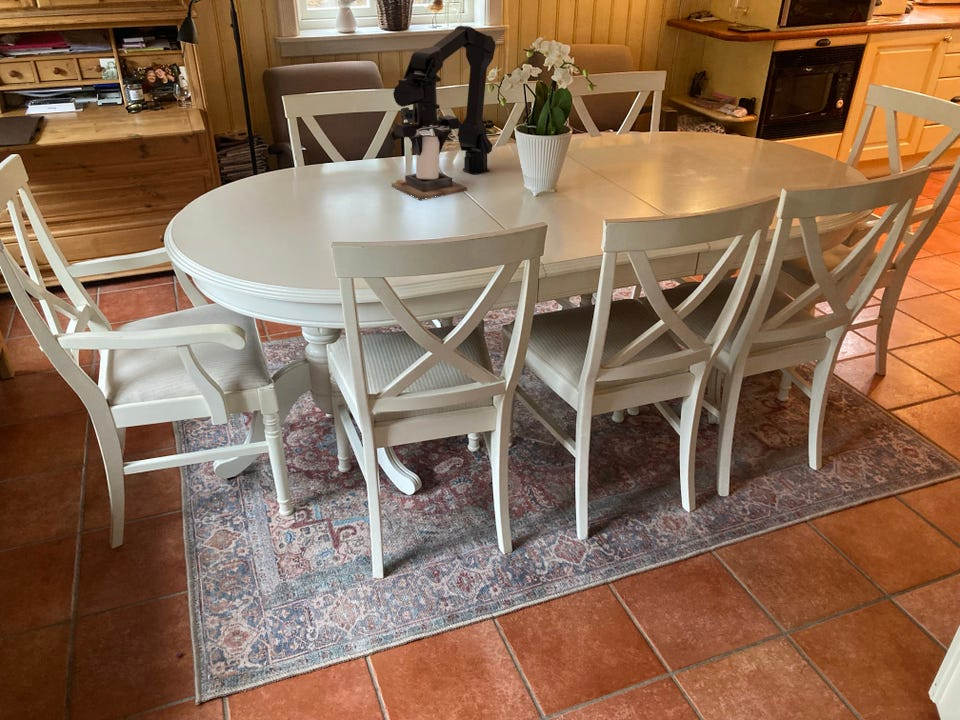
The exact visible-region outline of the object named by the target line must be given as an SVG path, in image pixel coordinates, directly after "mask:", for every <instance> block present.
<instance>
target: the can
mask: <svg viewBox="0 0 960 720" xmlns="http://www.w3.org/2000/svg"><path fill="white" fill-rule="evenodd" d="M420 135H421V136H423V138H422V153H421V155H420V156H419V155H417V154H416V159H415V160H416V170H415V171H416V173H415V174H416V177H417V179H423V180H437V179H438V177H439V172H440V171H439V170H440V154H439V140H438V136H435V135H429V134H427V135H424V134H420Z"/></svg>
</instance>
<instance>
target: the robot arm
mask: <svg viewBox="0 0 960 720" xmlns="http://www.w3.org/2000/svg"><path fill="white" fill-rule="evenodd" d="M461 48H464V49H465V57H466V59H467V62H468V65H469V77H468V78H469V79H468V80H469V81H468V89H467V91H468V92H467V103H466V115H465V118H464V120H463V121H462V122H461V121H460V120H459V118H458V117H456V116H453V115H450V114H449V115H442V116H439V117H438V109H439V110H440V104H438V100H437V83H439V82H441V81H442V78H441V77H440V76H438V73H439V72H440V71H441V69H442V68H443V66H444V62H445V61H446V60H447V59H449V58H450V57H451V56H452V55H454V54H456V53H457V51H459V50H460V49H461ZM495 50H496V41H495V40H494V38H493V36H492V35H489V34H488V35H487V34H485V33H482V32H480V31H479V30H478V31H477V30H476V29H475V28H474V27H472V26H467V25H459V26H456V27H455V29H454V30H452V31H451V32H449V34H447V35H446V36H445V37H443V38H442V39H440V40H439V41H438V42H437V43H434V45H433V46H430V47H429V46H428V47H425V48H421V49H418V50H416V51H414V52H413V53H412V55H411V57H410V60H409V62H408V66H407V68H406V71H405V73H404V76H403V78H400V79H398V80H397V81H398V84H397V85H396V86H395V87H394V90H393V93H392V94H393V99H394V101H395V103H396V105H398V107H402V108H400V117H401V120H402V121H405V122H399V123H395V125H394V130H393V131H394V133H393V134H394V135H397V136H399V137H401V138H408V139H409V140H410V142H411V144H412V145H413V148H414V150H415V153H416V156H417V155H419V156H420V155H421V153H422V138H423V136H421V135H422V134H420V131H427V130H432V131H433V133H434V136H438V140H439V155H440V154H441V152H442V149H443V147H444V144H445V142H446V140H447V138H448V136H449V135H450V134H451V133H452V132H453V130H458V131H457V135H456V136H457V139H458V143H459V147H460V150H461V152H462V151H463V152H464V153H465V156H464V160H463V161H464V163H463V164H464V165H463V166H464V167H463V168H462V171H464V172H468V173H470V174H472V175H478V174H482V173H488V172H491V169H490V168H488V155H489V154H490V153H492V151H493V146H494V145H493V143H492V142H491V141H490V139H489V138H488V135H487V130H488V129H487V127H486V124H485V122H484V119H483V116H484V115H483V113H484V104H485V92H486V85H487V84H486V83H487V82H486V81H487V72H488V71H487V70H488V67H489V66H490V64H491V63H492V61H493V60H494V56H495ZM411 105H413V109H410V108H409V107H407V106H411ZM413 123H414V124H413Z"/></svg>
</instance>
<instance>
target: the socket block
mask: <svg viewBox="0 0 960 720" xmlns="http://www.w3.org/2000/svg"><path fill="white" fill-rule="evenodd" d="M404 178H405V180H404V179H397V180H396V181H395V182H392V183H391V187H392V186H393V187H392V188H394V187H395V188H394V189H396V188H397V189H396V190H398V189H399V190H398V191H400V190H401V191H400V192H402V191H403V192H402V193H404V192H405V193H404V194H406V193H407V194H406V195H408V194H409V195H408V196H410V195H412V196H414V197H416V198H418V199H425V198H429V199H432V198H431V197H434V198H438V197H437V196H439V197H442V196H441V195H444V196H447V194H448V195H453V194H456V193H457V192H458V193H461V192H466V191H468V188H467V186H465V185H463V184H460V183H458V182H455V181H454V180H453V177H451V176H448V175H447V174H444V173H442V172H440V171H439V177H438V179H437V180H423V179H417V177H416V173H412V174H407V175H404ZM452 193H453V194H452ZM412 196H411V197H412ZM435 196H436V197H435ZM414 197H413V198H414ZM416 198H415V199H416ZM418 199H417V200H418ZM425 200H426V199H425Z"/></svg>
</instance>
